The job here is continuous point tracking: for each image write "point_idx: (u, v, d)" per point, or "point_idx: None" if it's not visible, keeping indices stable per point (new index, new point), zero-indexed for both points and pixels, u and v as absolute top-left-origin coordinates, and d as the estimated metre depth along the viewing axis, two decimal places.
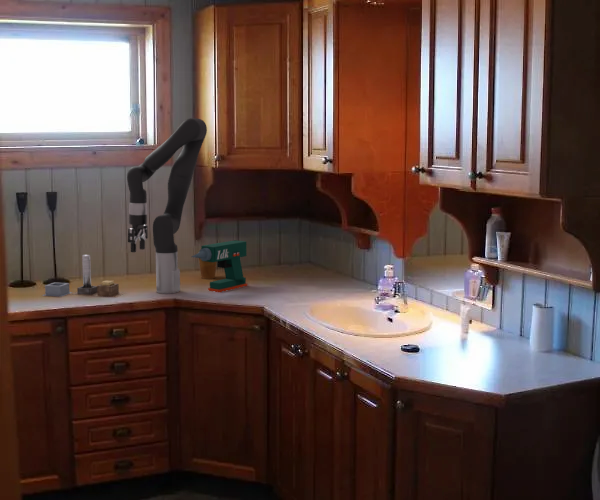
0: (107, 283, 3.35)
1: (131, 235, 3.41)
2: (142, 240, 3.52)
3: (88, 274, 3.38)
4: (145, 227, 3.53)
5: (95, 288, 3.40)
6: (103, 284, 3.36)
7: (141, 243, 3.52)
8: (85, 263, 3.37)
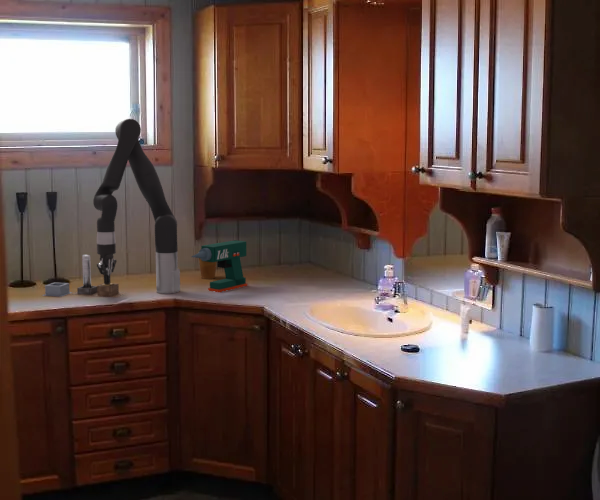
0: (107, 285, 3.35)
1: (102, 270, 3.32)
2: None
3: (88, 274, 3.38)
4: (114, 260, 3.41)
5: (95, 288, 3.40)
6: None
7: None
8: (85, 263, 3.37)
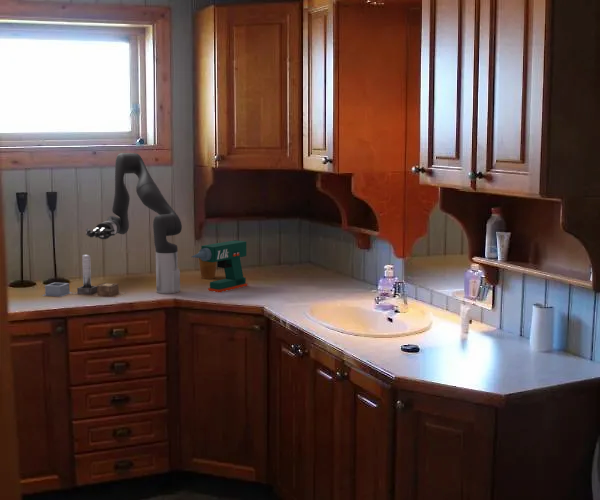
0: None
1: (86, 231, 3.54)
2: None
3: (88, 274, 3.38)
4: None
5: (95, 288, 3.40)
6: None
7: None
8: (85, 263, 3.37)
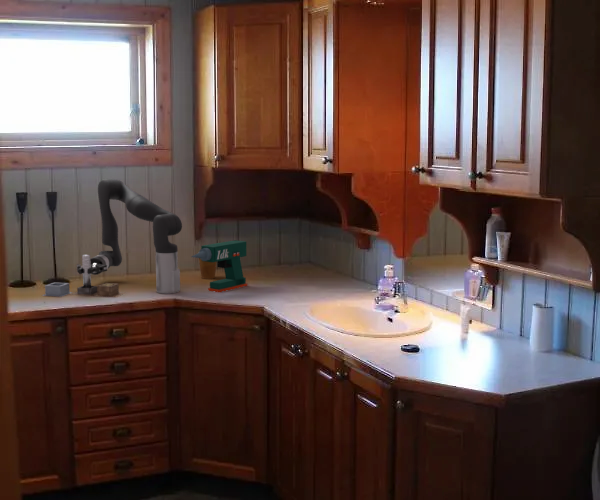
0: None
1: None
2: None
3: (88, 274, 3.38)
4: None
5: (95, 288, 3.40)
6: None
7: None
8: (85, 263, 3.37)
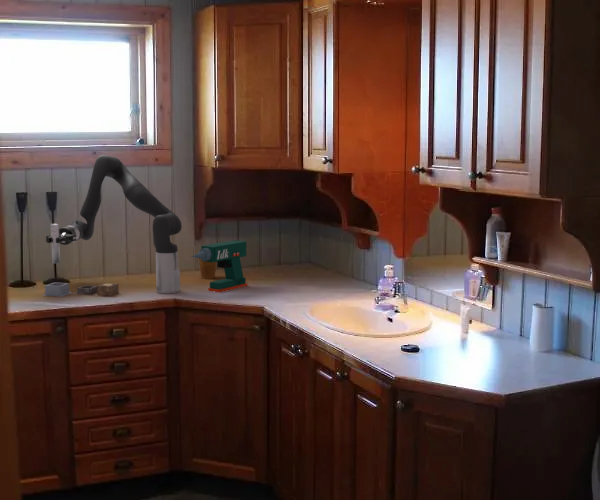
0: None
1: None
2: None
3: (57, 243, 3.34)
4: None
5: (95, 288, 3.40)
6: None
7: None
8: (54, 232, 3.33)
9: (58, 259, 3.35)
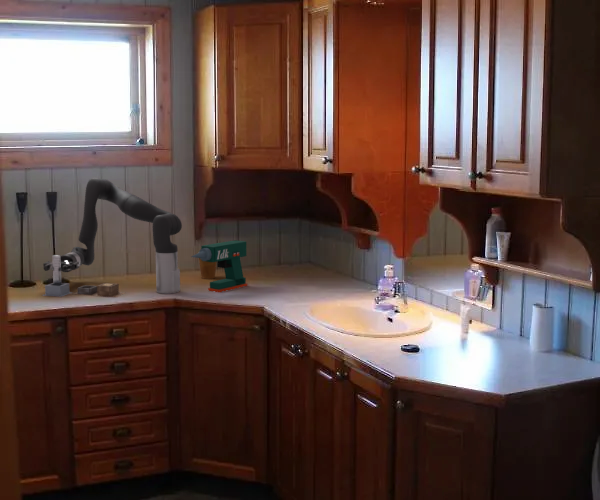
0: None
1: None
2: None
3: (58, 274, 3.36)
4: None
5: (95, 288, 3.40)
6: None
7: None
8: (55, 263, 3.35)
9: None
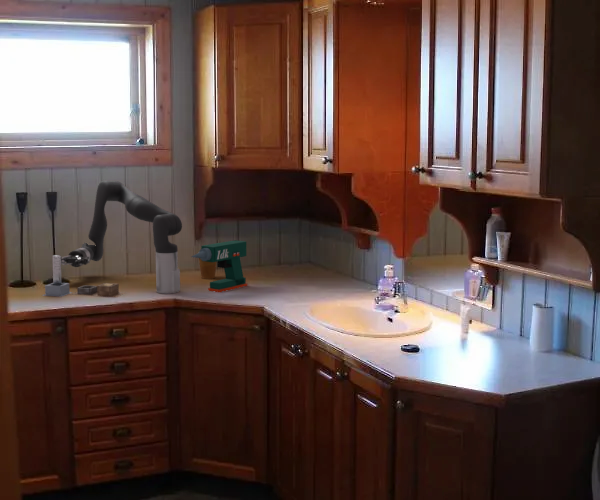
0: None
1: None
2: None
3: (58, 275, 3.36)
4: (86, 258, 3.56)
5: (95, 288, 3.40)
6: None
7: None
8: (55, 263, 3.35)
9: None
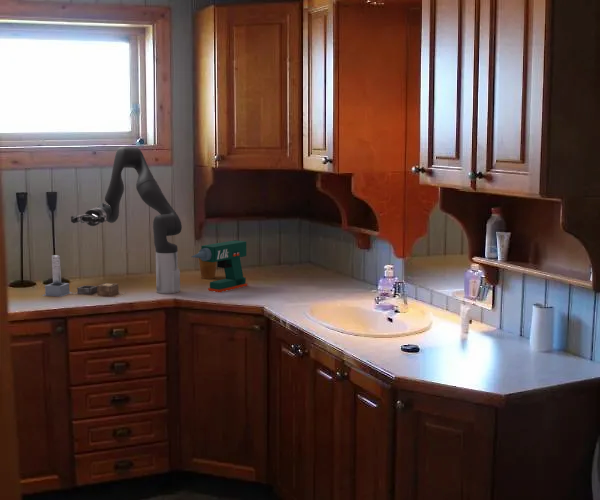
0: None
1: None
2: None
3: (58, 275, 3.36)
4: None
5: (95, 288, 3.40)
6: None
7: None
8: (55, 263, 3.35)
9: None
